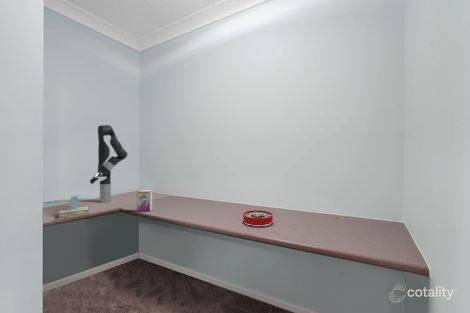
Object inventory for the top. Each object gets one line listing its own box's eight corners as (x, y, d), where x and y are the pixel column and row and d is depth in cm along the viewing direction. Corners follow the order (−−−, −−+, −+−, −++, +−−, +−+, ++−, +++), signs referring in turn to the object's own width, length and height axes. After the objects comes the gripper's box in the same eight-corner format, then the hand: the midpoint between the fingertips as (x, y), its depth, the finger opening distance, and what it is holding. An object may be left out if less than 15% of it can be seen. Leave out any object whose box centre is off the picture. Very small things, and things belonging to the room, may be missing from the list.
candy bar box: (136, 211, 187) (136, 191, 186) (139, 209, 192) (139, 190, 191) (149, 211, 185) (149, 191, 185) (152, 210, 190) (152, 190, 190)
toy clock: (245, 209, 169) (272, 210, 165) (245, 217, 169) (272, 218, 166) (241, 217, 149) (272, 219, 146) (241, 226, 149) (272, 228, 146)
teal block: (71, 209, 178) (70, 196, 178) (77, 208, 180) (77, 195, 180) (71, 210, 174) (70, 197, 174) (78, 209, 177) (77, 196, 177)
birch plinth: (60, 214, 178) (60, 209, 178) (87, 210, 188) (87, 205, 188) (59, 218, 167) (59, 213, 166) (88, 214, 177) (88, 209, 177)
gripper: (101, 164, 194) (86, 178, 188) (103, 164, 182) (87, 180, 176) (109, 169, 197) (94, 184, 191) (111, 171, 186) (95, 186, 179)
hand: (90, 182), depth 184 cm, fingers open, 8 cm apart
